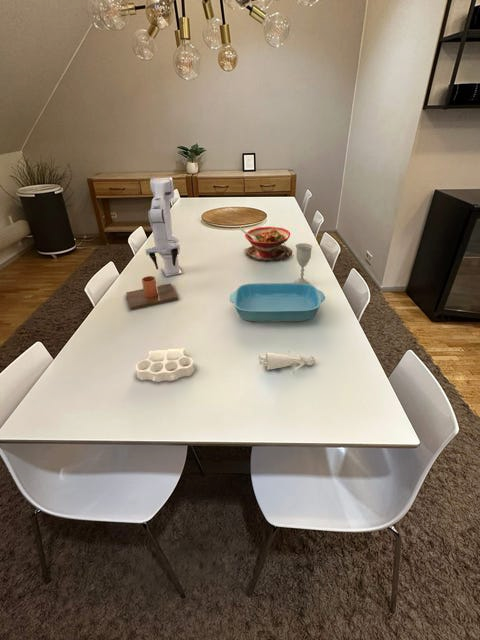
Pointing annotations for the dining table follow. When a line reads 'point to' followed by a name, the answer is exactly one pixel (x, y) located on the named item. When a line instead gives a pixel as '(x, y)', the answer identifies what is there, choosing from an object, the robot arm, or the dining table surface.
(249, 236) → the stew
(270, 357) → the woman figurine
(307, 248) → the chalice
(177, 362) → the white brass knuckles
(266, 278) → the dining table surface
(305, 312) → the casserole dish
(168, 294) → the serving board
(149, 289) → the tumbler
